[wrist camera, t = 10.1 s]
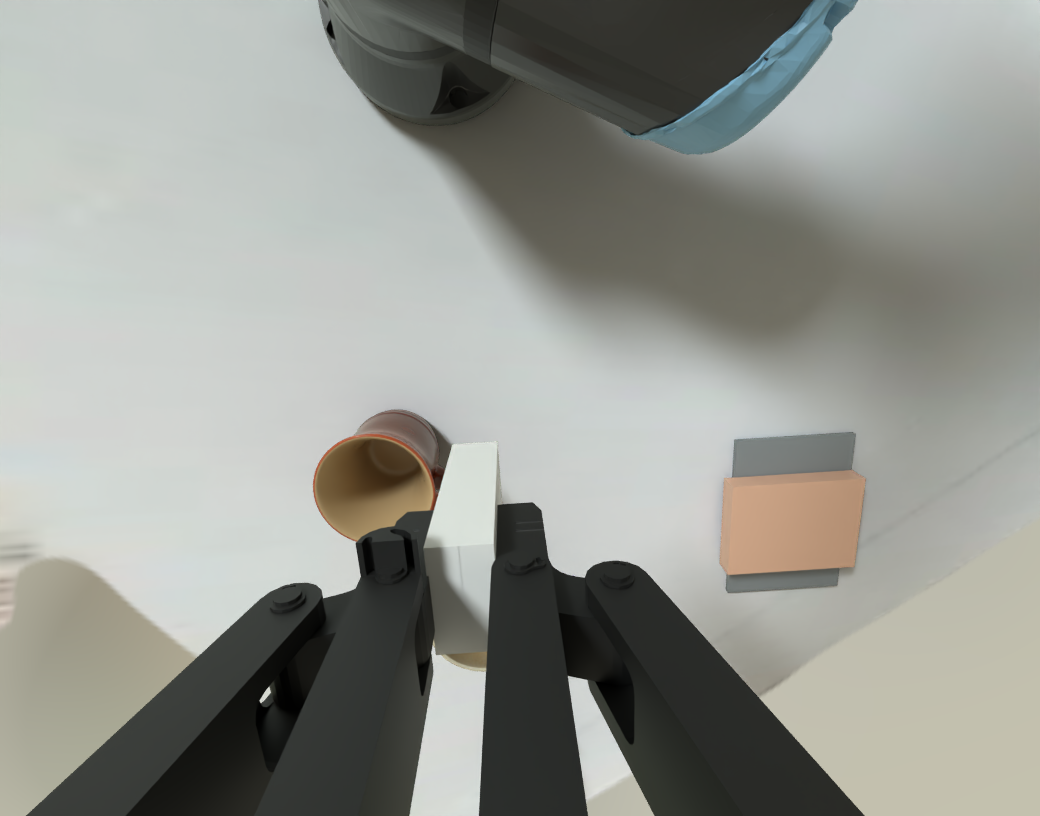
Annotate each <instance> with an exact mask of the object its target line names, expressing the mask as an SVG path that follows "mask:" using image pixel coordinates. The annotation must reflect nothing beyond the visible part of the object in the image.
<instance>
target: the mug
mask: <svg viewBox="0 0 1040 816" xmlns="http://www.w3.org/2000/svg"><path fill="white" fill-rule="evenodd" d="M438 461H439V446H438V442H437V438H436V435H435V433H434V431H433V429H432V428H431V426H430V425H429V424H428V423H427V422H426V421H425V420H424V419H423V418H422V417H420V416H419V415H417V414H415V413H412V412H410V411H406V410H389V411H385V412H381V413H379V414H376V415H375V416H373V417H371V418H369V419H368V420H366V421H365V422H364V423H363V424H362V425H361V426H360V427H359V429H358V430H357V432H356V433H355V434H354V436H352V437H349V438H346V439H344V440H342V441H340V442H338V443H337V444H335V445H334V446H333V447H332V448H330V449H329V450H328V451H327V452H326V453H325V455H324V456H323V457H322V459H321V460H320V462H319V464H318V466H317V468H316V471H315V475H314V481H313V492H314V498H315V502H316V505H317V507H318V509H319V511H320V513H321V515H322V516H323V518H324V519H325V520H326V522H327V523H328V524H329V525H330V526H331V527H332V528H333V529H335V530H336V531H337V532H338V533H340V534H341V535H343V536H345V537H347V538H349V539H351V540H353V541H356V542H357V541H358V540H359V539H360V538H361V537H362V536H364V535H365V534H367V533H369V532H371V531H374V530H377V529H380V528H385V527H391V526H395V524H396V521H397V520H398V519H400V518H401V517H402V516H403V515H404V514H406V513H407V512H412V511H428V510H434V508H435V505H436V501H437V498H438V494H439V493H438V492H436V491H435V489H437V490H440V487H441V483H442V480H443V476H444V473H445V468H443V467H442V466H440V465H439V464H438Z"/></svg>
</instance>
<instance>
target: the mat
mask: <svg viewBox="0 0 1040 816" xmlns="http://www.w3.org/2000/svg"><path fill="white" fill-rule="evenodd" d="M855 436H856V434H855V433H853V432H849V433H833V434H817V435H801V436H785V437H769V438H753V439H737V440H734V456H733V474H732V478H734V477H750V476H766V475H782V474H797V473H813V472H829V471H845V470H851V468H852V460H853V452H854V444H855ZM838 574H839V568H828V569H812V570H797V571H782V572H766V573H751V574H736V575H728V574H727V578H726V591H727V592H728V593H730V592H745V591H761V590H776V589H791V588H806V587H822V586H837V582H838Z"/></svg>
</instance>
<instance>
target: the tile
mask: <svg viewBox="0 0 1040 816" xmlns="http://www.w3.org/2000/svg"><path fill="white" fill-rule="evenodd" d="M865 482H866V478H864V477H862V476H861V475H859V474H857V473H856V472H854V471H853V470H845V471H829V472H813V473H797V474H782V475H766V476H750V477H734V478H724V490H723V509H722V528H721V546H720V565H721V566H722V567H723V569H724V570H725V572H726V573H727V574H728V575H736V574H751V573H766V572H782V571H797V570H812V569H828V568H843V567H854V565H855V557H856V550H857V542H858V535H859V527H860V519H861V512H862V504H863V497H864V489H865Z"/></svg>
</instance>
